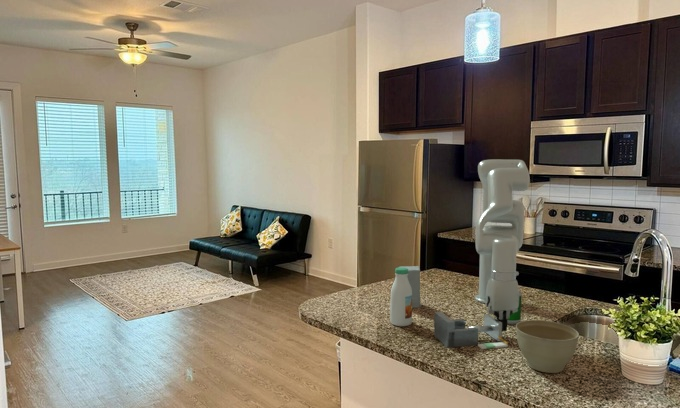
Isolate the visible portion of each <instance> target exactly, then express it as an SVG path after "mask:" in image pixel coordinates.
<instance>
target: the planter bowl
mask: <svg viewBox="0 0 680 408" xmlns="http://www.w3.org/2000/svg"><path fill="white" fill-rule="evenodd" d="M515 330H516V340H517V344H518V347H519V349H520V352H521V354H522V356H523V357H524V358H525V361H526V364H527V366H528V367H530V368H531V369H533V370H536V371H538V372H543V373H549V374H558V373H561V372H563V371H564V369H565V366H566V365H567V364H568V363H570V361H571V360H572V358H573V357H574V355H575V353H576V349H577V347H578V339H579V338H580V334H579V332H578V331H577V330H576V328H573V327H571V326H569V325H565V324H563V323H559V322H554V321H551V320H541V319H540V320H538V319H527V320H521V321H520V322H518V323H517V324H515Z"/></svg>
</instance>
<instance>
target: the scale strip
mask: <svg viewBox="0 0 680 408" xmlns="http://www.w3.org/2000/svg"><path fill="white" fill-rule="evenodd" d="M507 347H509V344H506V343H505V342H503V341H497V342H487V343H478V345H477V348H479V349H481V350H487V349H499V348H507Z"/></svg>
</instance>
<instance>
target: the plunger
mask: <svg viewBox="0 0 680 408" xmlns="http://www.w3.org/2000/svg"><path fill="white" fill-rule="evenodd" d="M483 316H484V317H483V325H478V326H477V325H475V326H468V327H467V328H477V329H478V333H486V334H487V335H488V336H490V337H492V338H493V340H495V341H497V342H505V343H506V344H507V345H509V341H508V340H506V339H504V337H503V331H502V322H500V321H498V320H497V318H496V317H493V316H492V315H491V314H489V313H484V315H483Z"/></svg>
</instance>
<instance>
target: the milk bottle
mask: <svg viewBox="0 0 680 408" xmlns="http://www.w3.org/2000/svg"><path fill="white" fill-rule="evenodd" d="M394 272H395V273H394V275H395V279H394V281H393V284H392V286H391V288H390V289H391V290H390V301H389V302H390V304H389V305H390V309H389V310H390V311H389V312H390V315H389V319H390V320H389V321H390V323H391V324H392V325H393V326H397V327H406V326H411V324H412V323H413V308H412V289H411V286H410V284H409V281H408V277H407V275H408V269H407V268H403V267H399V266H398V267H396V268H395V270H394Z"/></svg>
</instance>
